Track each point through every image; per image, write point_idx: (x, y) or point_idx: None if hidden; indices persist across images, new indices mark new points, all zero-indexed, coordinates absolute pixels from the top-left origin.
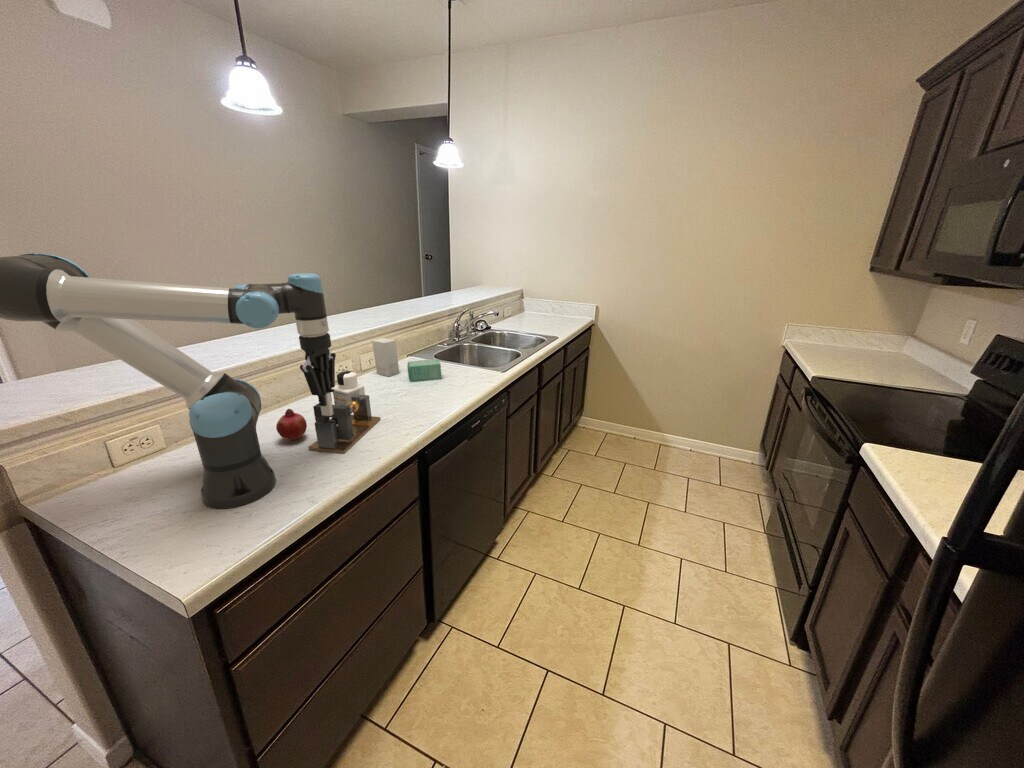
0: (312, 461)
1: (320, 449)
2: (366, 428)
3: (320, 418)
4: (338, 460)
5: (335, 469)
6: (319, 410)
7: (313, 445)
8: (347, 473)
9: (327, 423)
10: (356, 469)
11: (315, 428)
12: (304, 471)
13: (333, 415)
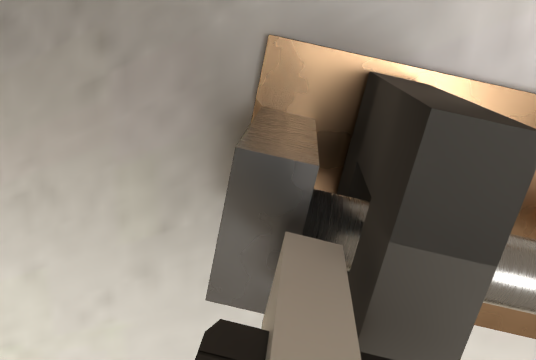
0: (137, 110)
1: (252, 119)
2: (513, 325)
3: (380, 148)
4: (153, 247)
5: (67, 257)
6: (395, 178)
7: (292, 59)
8: (39, 319)
9: (229, 266)
10: (76, 349)
11: (242, 136)
12: (33, 107)
13: None
